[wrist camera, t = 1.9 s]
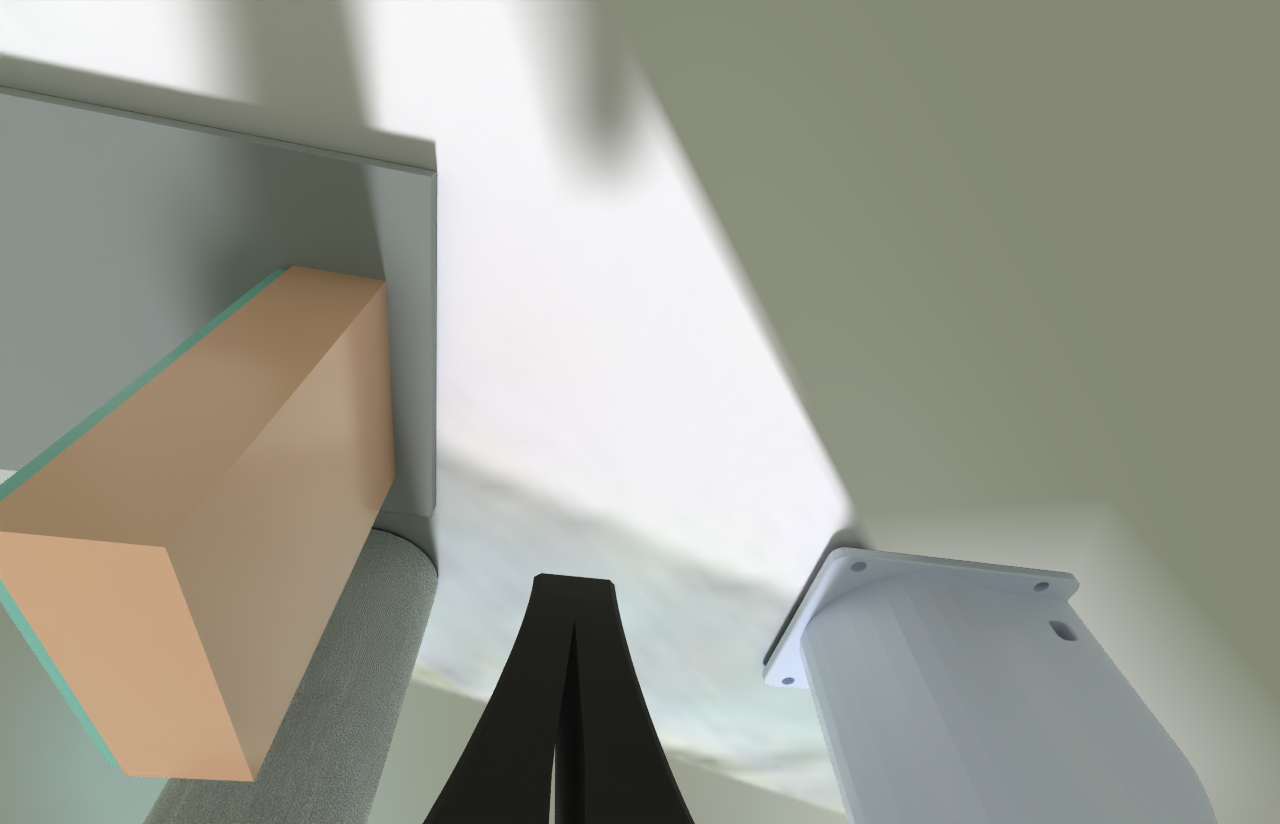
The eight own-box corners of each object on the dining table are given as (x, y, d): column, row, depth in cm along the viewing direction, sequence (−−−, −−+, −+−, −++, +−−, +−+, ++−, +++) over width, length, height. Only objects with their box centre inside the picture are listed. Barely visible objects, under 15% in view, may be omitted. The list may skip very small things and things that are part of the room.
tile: (385, 280, 13) (165, 547, 7) (395, 476, 17) (253, 781, 10) (279, 263, 13) (-64, 525, 6) (310, 465, 16) (106, 775, 10)
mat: (436, 171, 12) (430, 176, 12) (435, 505, 18) (431, 517, 18) (-232, 40, 11) (-266, 42, 10) (-5, 455, 16) (-21, 466, 16)
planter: (467, 584, 20) (362, 997, 12) (370, 628, 21) (214, 1031, 13) (370, 504, 18) (153, 948, 9) (268, 558, 19) (-4, 995, 11)
